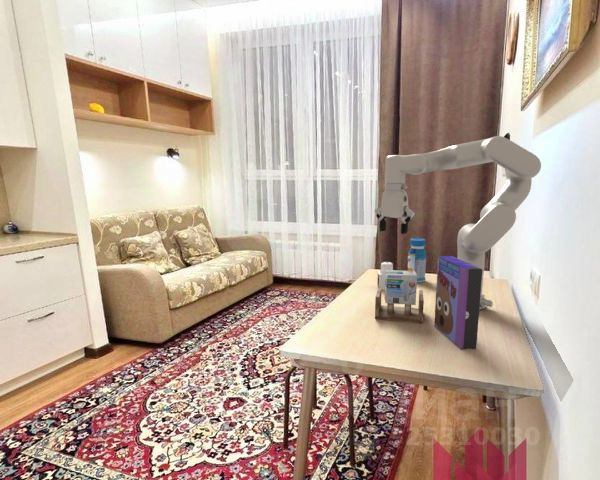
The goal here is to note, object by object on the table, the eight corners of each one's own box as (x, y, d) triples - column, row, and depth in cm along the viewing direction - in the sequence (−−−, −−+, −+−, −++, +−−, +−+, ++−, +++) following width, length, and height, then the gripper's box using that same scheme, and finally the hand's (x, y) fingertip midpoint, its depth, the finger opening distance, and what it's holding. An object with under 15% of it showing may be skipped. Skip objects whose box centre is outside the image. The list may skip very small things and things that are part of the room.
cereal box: (434, 326, 127) (438, 255, 123) (447, 325, 127) (452, 255, 123) (460, 349, 110) (466, 268, 106) (476, 348, 110) (482, 268, 106)
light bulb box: (385, 303, 134) (386, 274, 132) (384, 297, 140) (385, 269, 139) (416, 305, 132) (418, 275, 130) (413, 299, 139) (415, 270, 137)
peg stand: (422, 323, 129) (423, 300, 128) (374, 318, 133) (375, 297, 132) (421, 311, 140) (422, 290, 139) (377, 307, 145) (378, 287, 143)
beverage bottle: (422, 283, 176) (425, 241, 173) (404, 281, 180) (406, 239, 177) (427, 279, 183) (429, 238, 180) (409, 277, 188) (411, 237, 184)
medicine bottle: (377, 285, 174) (378, 259, 172) (393, 286, 173) (394, 260, 171) (378, 290, 167) (379, 263, 165) (394, 290, 166) (395, 264, 164)
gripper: (420, 188, 142) (418, 233, 144) (381, 187, 154) (380, 229, 157) (409, 188, 137) (407, 235, 139) (370, 187, 149) (369, 230, 152)
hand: (393, 232), depth 148 cm, fingers open, 9 cm apart
